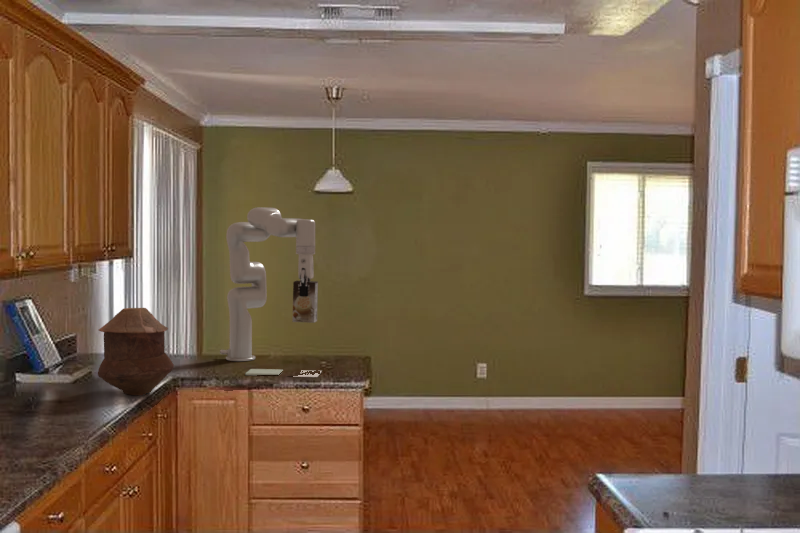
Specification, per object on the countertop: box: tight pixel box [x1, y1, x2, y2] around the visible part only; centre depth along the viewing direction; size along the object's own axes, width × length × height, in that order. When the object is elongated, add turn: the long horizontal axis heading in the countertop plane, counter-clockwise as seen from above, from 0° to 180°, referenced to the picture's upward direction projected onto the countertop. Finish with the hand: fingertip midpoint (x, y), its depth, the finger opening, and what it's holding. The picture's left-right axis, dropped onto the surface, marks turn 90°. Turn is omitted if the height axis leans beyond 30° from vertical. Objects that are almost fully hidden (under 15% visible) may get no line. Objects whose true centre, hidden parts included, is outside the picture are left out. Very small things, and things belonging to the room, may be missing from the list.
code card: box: [293, 369, 323, 378], centre depth 349 cm, size 12×14×1 cm
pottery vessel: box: [97, 307, 175, 396], centre depth 307 cm, size 26×26×30 cm
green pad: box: [245, 368, 284, 376], centre depth 349 cm, size 13×10×1 cm
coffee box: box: [292, 280, 319, 324], centre depth 348 cm, size 9×6×16 cm
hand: (305, 295), depth 347 cm, fingers closed on coffee box, 6 cm apart
